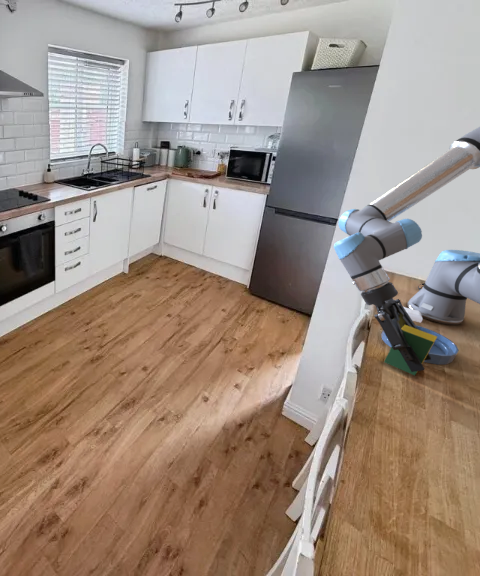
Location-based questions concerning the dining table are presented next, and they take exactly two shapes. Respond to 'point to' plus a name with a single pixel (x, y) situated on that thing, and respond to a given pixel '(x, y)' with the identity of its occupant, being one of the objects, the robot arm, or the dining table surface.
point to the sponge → (417, 341)
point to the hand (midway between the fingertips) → (421, 364)
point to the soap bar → (414, 315)
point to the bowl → (436, 348)
